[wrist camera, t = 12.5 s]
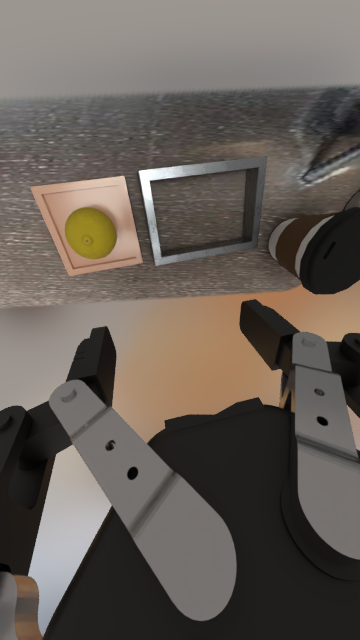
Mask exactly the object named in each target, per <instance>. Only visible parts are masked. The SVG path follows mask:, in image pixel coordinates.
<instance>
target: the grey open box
mask: <svg viewBox="0 0 360 640" xmlns="http://www.w3.org/2000/svg"><path fill="white" fill-rule="evenodd" d="M266 162H267V156H264V157H255V158H246V159H237V160H229V161H220V162H211V163H203V164H194V165H185V166H176V167H168V168H159V169H150V170H141V171H138V179H139V184H140V190H141V195H142V201H143V206H144V212H145V217H146V222H147V228H148V233H149V239H150V244H151V250H152V255H153V260H154V263H155V265H156V266H157V265H163V264H168V263H174V262H179V261H185V260H190V259H196V258H201V257H207V256H212V255H218V254H223V253H229V252H234V251H240V250H245V249H251V248H256V247H257V245H258V236H259V227H260V218H261V209H262V199H263V190H264V181H265V172H266ZM239 170H247V174H246V189H245V205H244V220H243V235H242V238H239V239H234V240H228V241H222V242H216V243H210V244H205V245H199V246H193V247H187V248H182V249H176V250H170V251H164V252H161V251H160V245H159V238H158V232H157V226H156V219H155V213H154V207H153V200H152V194H151V188H150V181H157V180H166V179H174V178H182V177H190V176H198V175H206V174H214V173H223V172H231V171H239Z"/></svg>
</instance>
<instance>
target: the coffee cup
mask: <svg viewBox="0 0 360 640" xmlns="http://www.w3.org/2000/svg"><path fill="white" fill-rule="evenodd" d="M269 251H270V253H271V255H272V257H273V258H274V259H276V260H277V261H278V263H279V264H280V265H281V266H283V267H284V268H285V269H287V270H288V271H289V272H290V273H292V274H293V275H294V276H296V277H297V278H298V279H300V280H301V282H302V285H303V287H304V288H306V289H307V290H309V291H310V292H312V293H314V294H335V293H337V292H340V291H343V290H345V289H347V288H349V287H350V286H352V285H353V284H354V283H356V282H357V281H359V280H360V207H353V208H350V209H347V210H344V211H342V212H339V213H330V214H320V215H310V216H303V217H300V218H292V219H289V220H286V221H284V222H282V223H281V224H280V225H278V226H277V227H276V228H275V229H274V231H273V232H272V234H271V236H270V239H269Z"/></svg>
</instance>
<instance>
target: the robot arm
mask: <svg viewBox="0 0 360 640" xmlns="http://www.w3.org/2000/svg"><path fill="white" fill-rule="evenodd" d="M353 207H360V191H359V192H357V193H356V194H355V195H354V196H353V198H352V199H351V200H350V201H349V203H348V204H347V206H346V207H345V209H344V210H347V209H350V208H353ZM239 324H240V329H241V331H242V333H243V334H244V335H245V337H246V338H247V339H248V341H249V342H250V343H251V344H252V346H253V347H254V348H255V350H256V351H257V352H258V353H259V355H260V356H261V357H262V358H263V360H264V361H265V362H266V364H267V365H268V366H269V367H270V368H271V370H277V369H281V370H282V371H283V372H282V376H281V388H280V402H279V407H276V406H272V405H263V404H262V402H261V400H260V399H259V397H258V398H254V399H249V400H245V401H242V402H237V403H235V404H233V405H232V406H230V407H228V408H226V409H225V410H223V411H221V412H219V413H218V414H215V415H185V416H181V417H177V418H173V419H169V420H165V429H163V430H162V431H160V432H159V433H157V434H156V435H155V436H154V437H153V438H152V439H150V441H149V442H148V443H147V444H146V443H145V442H144V440H142V438H141V437H140V436H139V435H138V434H137V433H136V432H135V431H134V430H133V429H132V428H131V427H130V426H129V425H128V424H127V423H126V422H125V421H124V420H123V419H122V418H121V417H120V415H118V413H117V412H116V411H115V410H114V409H113V408H112V399H113V389H114V377H115V367H116V349H115V346H114V343H113V340H112V337H111V335H110V332H109V329H108V328H107V326H105V327H99V328H93V329H92V331H91V335H90V338H88V339H84V340H83V341H82V342H81V343H80V345H79V346H78V348H77V351H76V355H75V356H74V361H73V362H72V365H71V368H70V371H69V374H68V377H67V380H66V382H65V383H64V384H62V385H60V386H59V387H58V388H57V389H55V390H54V392H53V393H52V394H51V396H50V399H49V401H47V402H45V403H43V404H41V405H38V406H36V407H34V408H32V409H30V410H28V411H26V410H25V409H24V408H23V407H22V406H11V407H8V408H5V409H3V410H1V411H0V640H360V451H359V450H357V449H356V446H355V442H354V437H353V432H352V428H351V423H350V418H349V414H348V409H347V405H348V406H349V407H350V408H351V409H352V410H353V412H354V413H355V414H356V415H357V416H358V417H359V418H360V334H359V333H348V334H346V335H345V336H344V337H343V339H342V342H327V341H325V340H324V339H323V338H321V337H320V336H318V335H316V334H313V333H309V332H300V331H299V330H298V329H296V328H295V327H294V326H293V325H292V324H290V323H289V322H288V321H287V320H286V319H284V318H283V317H282V316H281V315H279V314H278V313H277V312H276V311H275V310H273V309H271V308H269V307H267V306H263V305H262V304H261V303H260V302H258V301H257V300H256V299H255V300H249V301H244V302H242V304H241V313H240V323H239ZM71 445H74V446H75V448H76V449H77V451H78V453H79V454H80V456H81V457H82V459H83V460H84V462H85V464H86V465H87V466H88V468H89V470H90V471H91V473H92V474H93V476H94V477H95V479H96V481H97V482H98V484H99V485H100V487H101V488H102V490H103V491H104V493H105V495H106V496H107V498H108V499H109V501H110V503H111V504H112V506H111V508H110V510H109V512H108V514H107V516H106V518H105V519H104V521H103V523H102V525H101V527H100V529H99V531H98V532H97V534H96V536H95V538H94V540H93V542H92V543H91V546H90V547H89V549H88V551H87V553H86V555H85V557H84V558H83V560H82V562H81V564H80V566H79V568H78V569H77V571H76V574H75V575H74V577H73V579H72V581H71V583H70V584H69V586H68V588H67V590H66V592H65V594H64V595H63V597H62V599H61V601H60V603H59V605H58V607H57V608H56V610H55V612H54V614H53V616H52V618H51V621H50V623H49V625H48V627H47V629H46V632H45V634H44V637H43V636H42V635H41V633H40V630H39V626H38V605H39V590H38V586H37V583H36V581H35V580H34V579H33V578H31V577H29V576H28V572H29V568H30V564H31V560H32V555H33V551H34V547H35V542H36V538H37V534H38V529H39V525H40V521H41V516H42V512H43V508H44V504H45V499H46V495H47V491H48V486H49V482H50V478H51V474H52V469H53V465H54V461H55V456H56V454H57V453H59V452H60V451H62V450H64V449H66V448H67V447H69V446H71Z"/></svg>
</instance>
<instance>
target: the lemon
mask: <svg viewBox="0 0 360 640" xmlns="http://www.w3.org/2000/svg"><path fill="white" fill-rule="evenodd" d="M65 237H66V239H67V242H68V244H69V245H70V247H71V248H72V249H73V250H74V251H75V252H76V253H77V254H79V255H80V256H82V257H85V258H87V259H101V258H103V257H106V256H107V255H108V254H110V253H111V252H112V250H113V249H114V247H115V244H116V240H117V234H116V229H115V226H114V224H113V222H112V221H111V219H110V218H109V217H108V216H107V215H106V214H105V213H103V212H102V211H100V210H98V209H95V208H90V207H84V208H79V209H77V210H75V211H73V212H72V213H71V214H70V215H69V216H68V218H67V220H66V223H65Z"/></svg>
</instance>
